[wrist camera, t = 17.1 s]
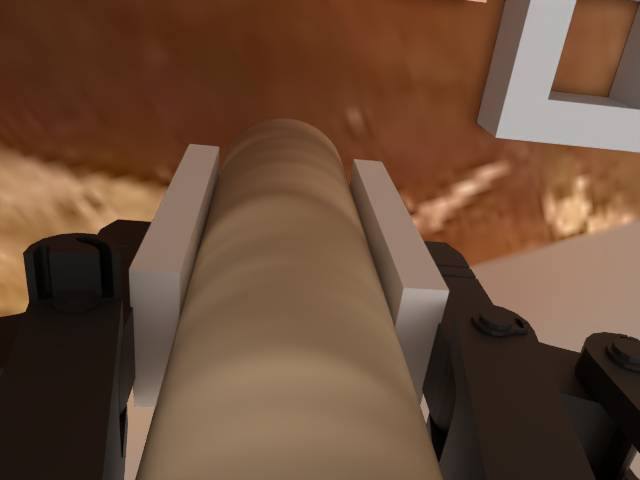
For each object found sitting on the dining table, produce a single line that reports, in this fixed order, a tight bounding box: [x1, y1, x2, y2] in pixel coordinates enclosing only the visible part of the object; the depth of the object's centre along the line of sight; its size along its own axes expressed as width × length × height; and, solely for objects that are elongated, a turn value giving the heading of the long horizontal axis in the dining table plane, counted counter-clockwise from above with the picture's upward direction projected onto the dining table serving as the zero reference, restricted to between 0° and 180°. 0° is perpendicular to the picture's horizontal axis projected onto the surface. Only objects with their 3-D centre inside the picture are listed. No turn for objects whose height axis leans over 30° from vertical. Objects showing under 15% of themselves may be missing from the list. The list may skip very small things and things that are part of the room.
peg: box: [135, 118, 444, 480], centre depth 11 cm, size 4×4×12 cm
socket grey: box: [477, 0, 640, 152], centre depth 28 cm, size 9×9×3 cm
